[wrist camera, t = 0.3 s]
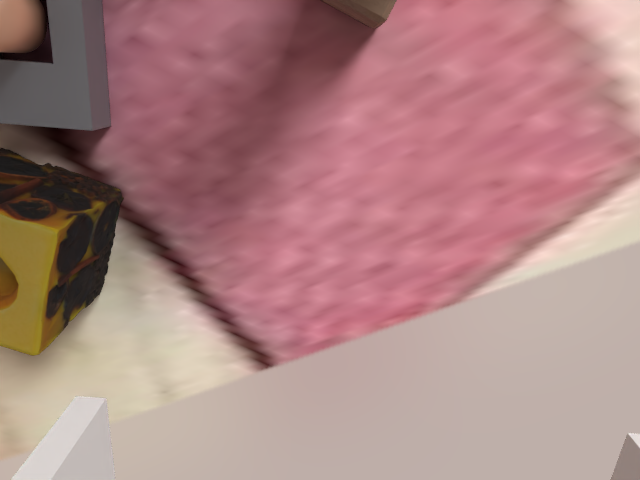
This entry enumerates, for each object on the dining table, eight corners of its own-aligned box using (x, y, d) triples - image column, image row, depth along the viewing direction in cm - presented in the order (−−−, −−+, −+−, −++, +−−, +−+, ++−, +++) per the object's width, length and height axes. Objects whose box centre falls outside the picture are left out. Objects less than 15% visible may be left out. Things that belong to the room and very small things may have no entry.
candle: (2, 145, 37) (-110, 170, 28) (127, 188, 38) (60, 226, 29) (-12, 258, 40) (-116, 314, 31) (104, 294, 41) (37, 359, 32)
